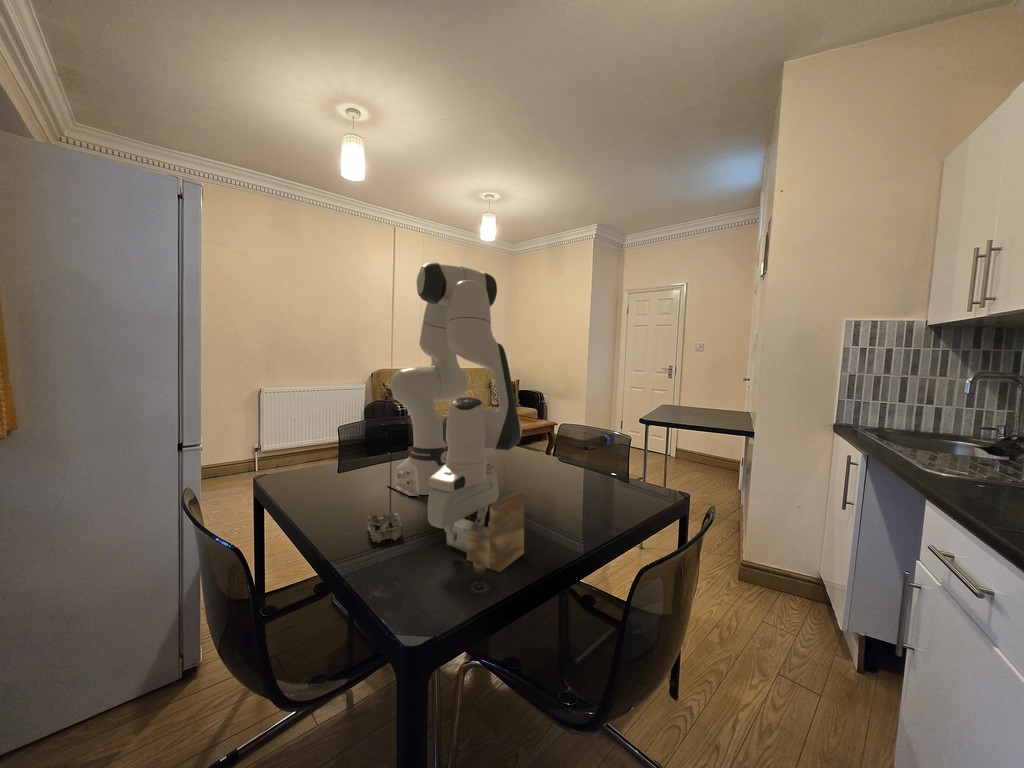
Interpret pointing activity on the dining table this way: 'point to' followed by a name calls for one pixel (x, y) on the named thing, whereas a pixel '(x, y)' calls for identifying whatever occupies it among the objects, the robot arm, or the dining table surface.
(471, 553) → the wooden step block
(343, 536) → the dining table surface
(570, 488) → the dining table surface
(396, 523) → the egg carton
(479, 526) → the light grey rectangular block
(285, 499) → the dining table surface
